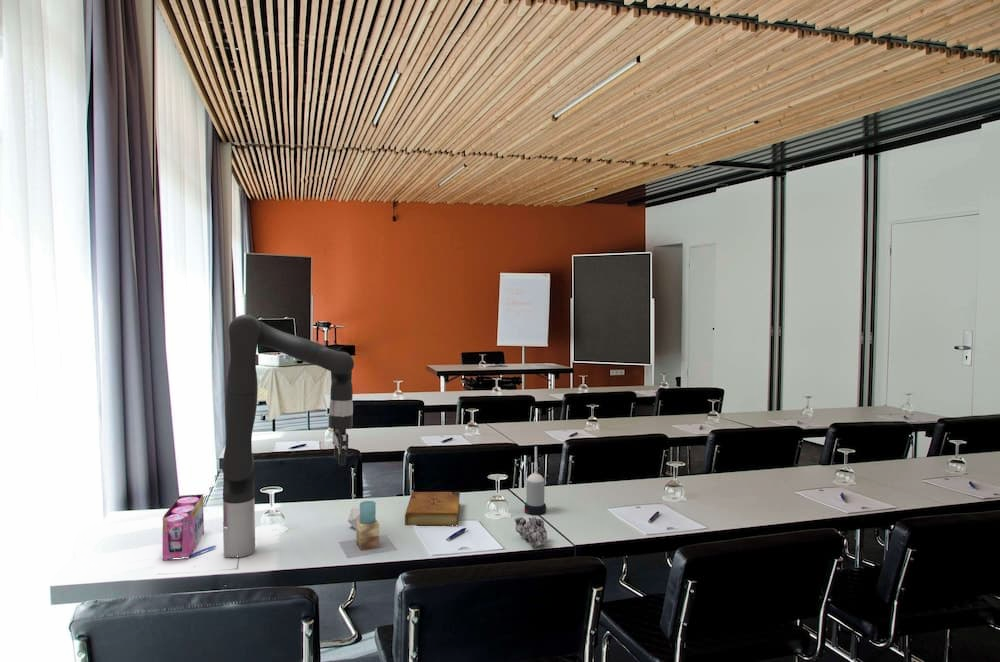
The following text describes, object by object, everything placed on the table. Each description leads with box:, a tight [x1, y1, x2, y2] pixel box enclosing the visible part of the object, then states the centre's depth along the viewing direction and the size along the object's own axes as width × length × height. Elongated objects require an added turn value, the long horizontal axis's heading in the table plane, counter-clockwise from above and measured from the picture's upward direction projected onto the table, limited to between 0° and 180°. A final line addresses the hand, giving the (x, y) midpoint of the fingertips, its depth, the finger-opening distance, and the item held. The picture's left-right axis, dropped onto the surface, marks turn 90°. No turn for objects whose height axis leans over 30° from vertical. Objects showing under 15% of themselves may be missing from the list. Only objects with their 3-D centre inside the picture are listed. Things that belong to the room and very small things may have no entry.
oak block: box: [355, 519, 380, 538], centre depth 214 cm, size 6×6×4 cm
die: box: [347, 505, 360, 531], centre depth 232 cm, size 8×9×10 cm
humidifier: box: [523, 446, 547, 516], centre depth 250 cm, size 8×8×25 cm
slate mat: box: [338, 534, 399, 559], centre depth 215 cm, size 16×14×1 cm
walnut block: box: [355, 532, 380, 551], centre depth 215 cm, size 6×6×4 cm
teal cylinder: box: [359, 500, 377, 524], centre depth 214 cm, size 5×5×6 cm
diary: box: [404, 491, 461, 527], centre depth 245 cm, size 23×19×6 cm
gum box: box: [162, 494, 205, 561], centre depth 214 cm, size 24×8×14 cm, turn 13°
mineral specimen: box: [513, 515, 549, 549], centre depth 220 cm, size 13×10×11 cm
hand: (339, 462), depth 217 cm, fingers open, 8 cm apart
